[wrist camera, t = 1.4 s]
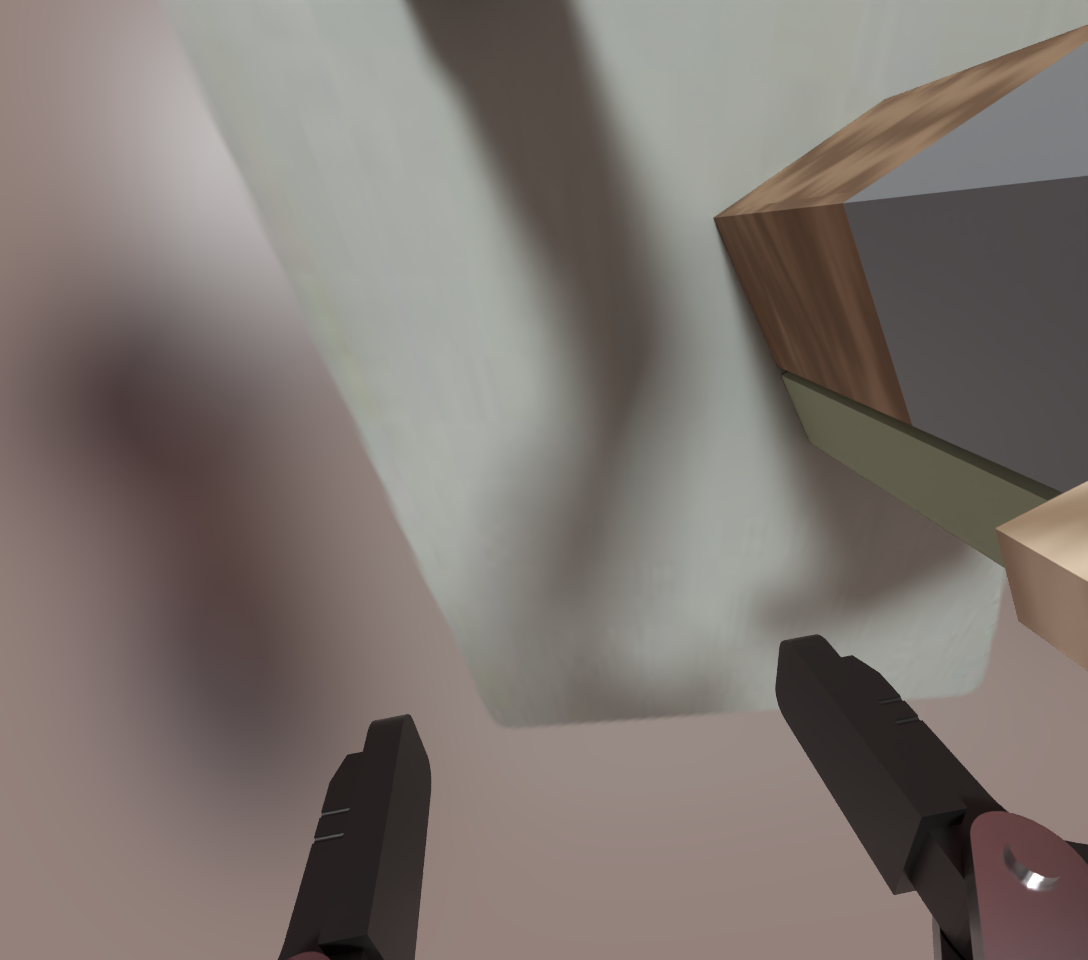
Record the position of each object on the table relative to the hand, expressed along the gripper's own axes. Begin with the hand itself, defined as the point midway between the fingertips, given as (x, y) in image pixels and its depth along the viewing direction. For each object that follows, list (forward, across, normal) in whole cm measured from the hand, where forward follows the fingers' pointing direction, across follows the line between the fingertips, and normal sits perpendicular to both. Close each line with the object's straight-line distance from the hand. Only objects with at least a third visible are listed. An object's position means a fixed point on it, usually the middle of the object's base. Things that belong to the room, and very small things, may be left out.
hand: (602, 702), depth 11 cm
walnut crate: (+34, +26, +4) cm, 44 cm away
